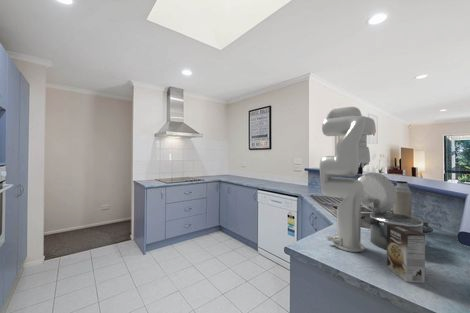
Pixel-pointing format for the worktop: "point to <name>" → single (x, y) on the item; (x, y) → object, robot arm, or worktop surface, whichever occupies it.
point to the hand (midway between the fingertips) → (359, 174)
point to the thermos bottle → (403, 199)
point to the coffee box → (406, 253)
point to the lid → (377, 192)
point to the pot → (384, 219)
